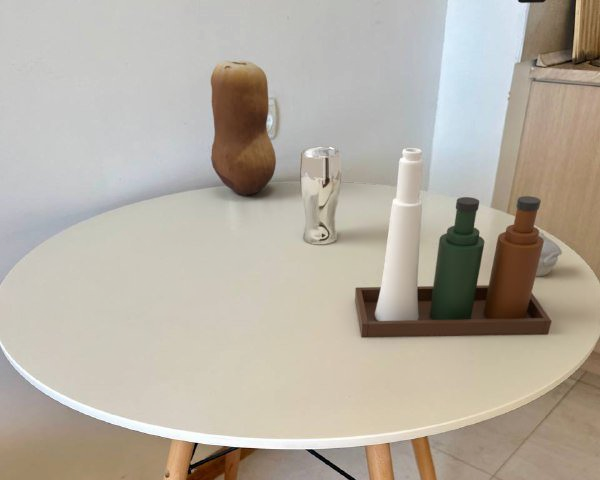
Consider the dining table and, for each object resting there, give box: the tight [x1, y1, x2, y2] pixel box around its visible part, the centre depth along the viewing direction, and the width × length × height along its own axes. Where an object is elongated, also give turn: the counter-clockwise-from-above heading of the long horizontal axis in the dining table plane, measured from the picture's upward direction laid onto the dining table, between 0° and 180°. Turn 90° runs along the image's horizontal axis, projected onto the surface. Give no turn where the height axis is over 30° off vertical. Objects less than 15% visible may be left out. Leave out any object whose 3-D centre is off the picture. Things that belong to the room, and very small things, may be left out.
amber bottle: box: [483, 195, 544, 319], centre depth 77 cm, size 6×6×16 cm
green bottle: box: [430, 196, 486, 320], centre depth 77 cm, size 6×6×16 cm
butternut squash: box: [210, 60, 277, 197], centre depth 122 cm, size 14×13×25 cm
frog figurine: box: [536, 231, 563, 277], centre depth 91 cm, size 6×7×7 cm
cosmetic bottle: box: [375, 147, 424, 321], centre depth 75 cm, size 6×6×22 cm
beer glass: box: [299, 146, 342, 246], centre depth 103 cm, size 7×7×15 cm
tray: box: [354, 284, 552, 339], centre depth 82 cm, size 25×11×3 cm, turn 90°
